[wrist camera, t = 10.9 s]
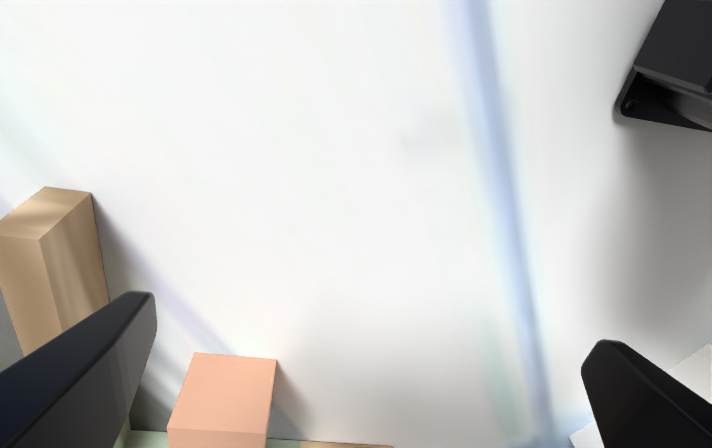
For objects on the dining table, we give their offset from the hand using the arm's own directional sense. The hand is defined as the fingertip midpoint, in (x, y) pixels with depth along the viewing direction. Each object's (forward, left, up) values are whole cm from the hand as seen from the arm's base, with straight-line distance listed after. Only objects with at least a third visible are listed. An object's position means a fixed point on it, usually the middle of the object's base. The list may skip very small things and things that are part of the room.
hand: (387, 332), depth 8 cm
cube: (+5, +18, -12) cm, 22 cm away
